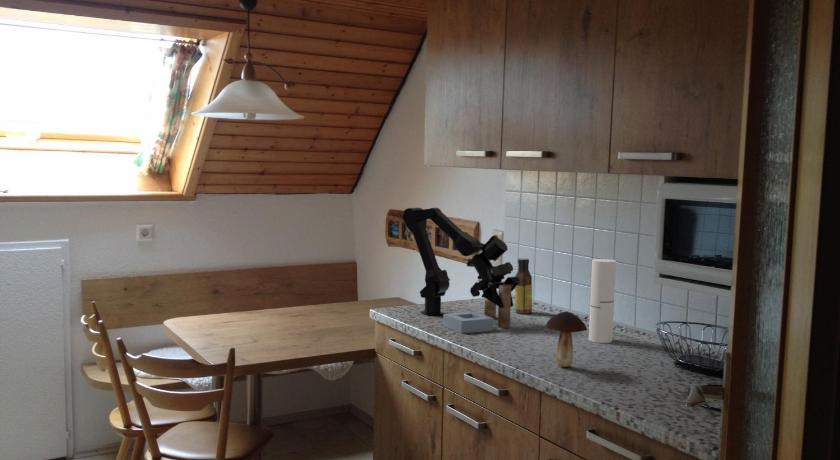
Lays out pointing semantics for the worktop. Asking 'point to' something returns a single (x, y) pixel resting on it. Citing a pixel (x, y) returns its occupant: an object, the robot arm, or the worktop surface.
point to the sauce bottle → (523, 288)
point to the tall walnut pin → (505, 311)
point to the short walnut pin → (490, 309)
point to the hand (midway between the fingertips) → (507, 306)
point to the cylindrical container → (602, 300)
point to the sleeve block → (468, 322)
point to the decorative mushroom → (565, 335)
